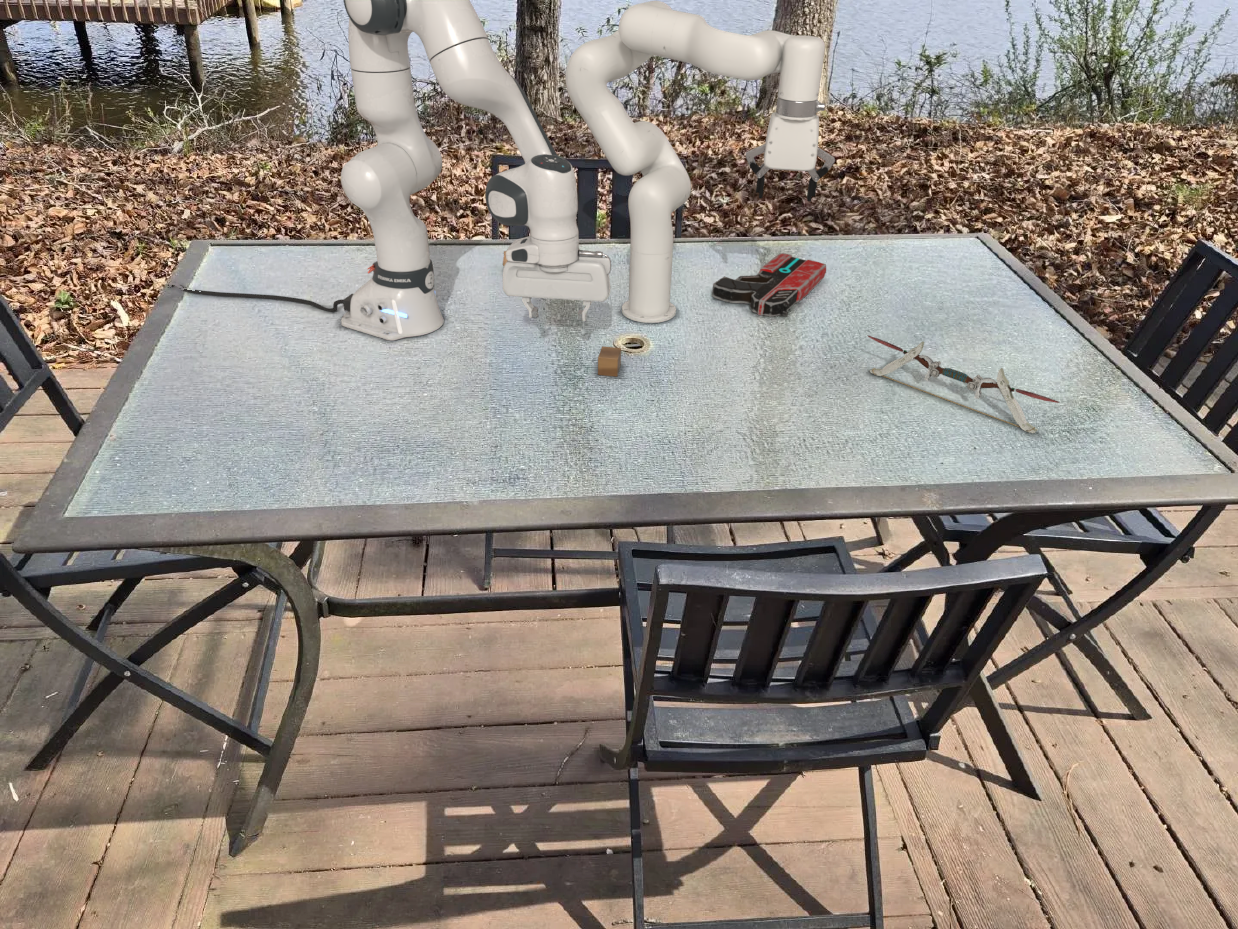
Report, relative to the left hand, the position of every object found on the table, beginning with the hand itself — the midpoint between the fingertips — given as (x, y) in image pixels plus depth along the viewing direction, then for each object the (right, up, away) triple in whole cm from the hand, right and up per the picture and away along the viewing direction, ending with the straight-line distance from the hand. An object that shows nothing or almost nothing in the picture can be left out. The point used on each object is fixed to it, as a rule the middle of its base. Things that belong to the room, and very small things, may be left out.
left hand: (558, 318), depth 168 cm
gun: (+49, +15, +48) cm, 70 cm away
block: (+10, -9, +11) cm, 17 cm away
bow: (+76, -16, +4) cm, 78 cm away
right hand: (+45, +26, +8) cm, 52 cm away
